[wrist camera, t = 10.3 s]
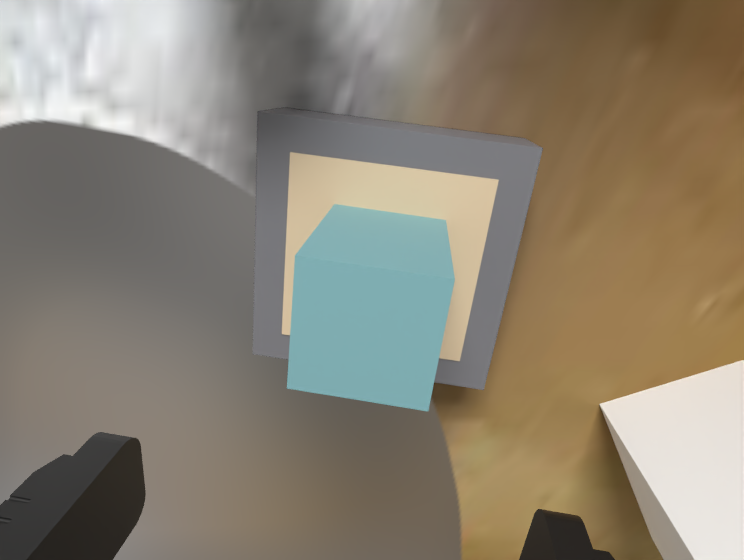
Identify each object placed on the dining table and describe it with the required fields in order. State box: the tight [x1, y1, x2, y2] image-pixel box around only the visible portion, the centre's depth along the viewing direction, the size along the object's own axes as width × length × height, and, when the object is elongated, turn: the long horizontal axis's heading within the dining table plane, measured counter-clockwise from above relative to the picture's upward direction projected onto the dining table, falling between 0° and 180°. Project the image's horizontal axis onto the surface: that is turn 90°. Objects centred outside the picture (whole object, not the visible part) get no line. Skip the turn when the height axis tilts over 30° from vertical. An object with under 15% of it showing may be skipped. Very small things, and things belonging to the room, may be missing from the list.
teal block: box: [287, 204, 455, 411], centre depth 19 cm, size 5×5×7 cm
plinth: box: [253, 107, 543, 390], centre depth 24 cm, size 12×12×4 cm
